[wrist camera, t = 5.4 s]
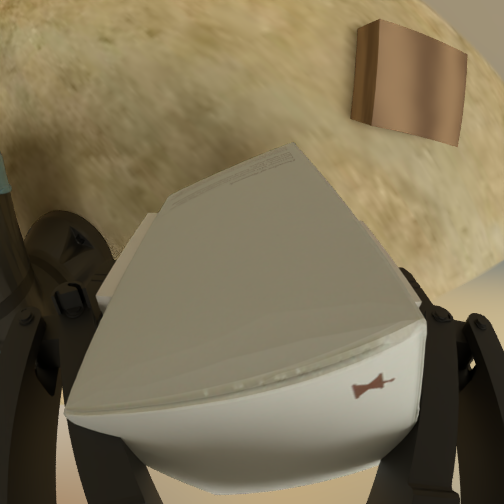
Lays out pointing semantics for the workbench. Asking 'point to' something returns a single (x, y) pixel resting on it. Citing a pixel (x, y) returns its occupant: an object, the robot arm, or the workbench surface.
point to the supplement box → (256, 337)
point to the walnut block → (408, 82)
